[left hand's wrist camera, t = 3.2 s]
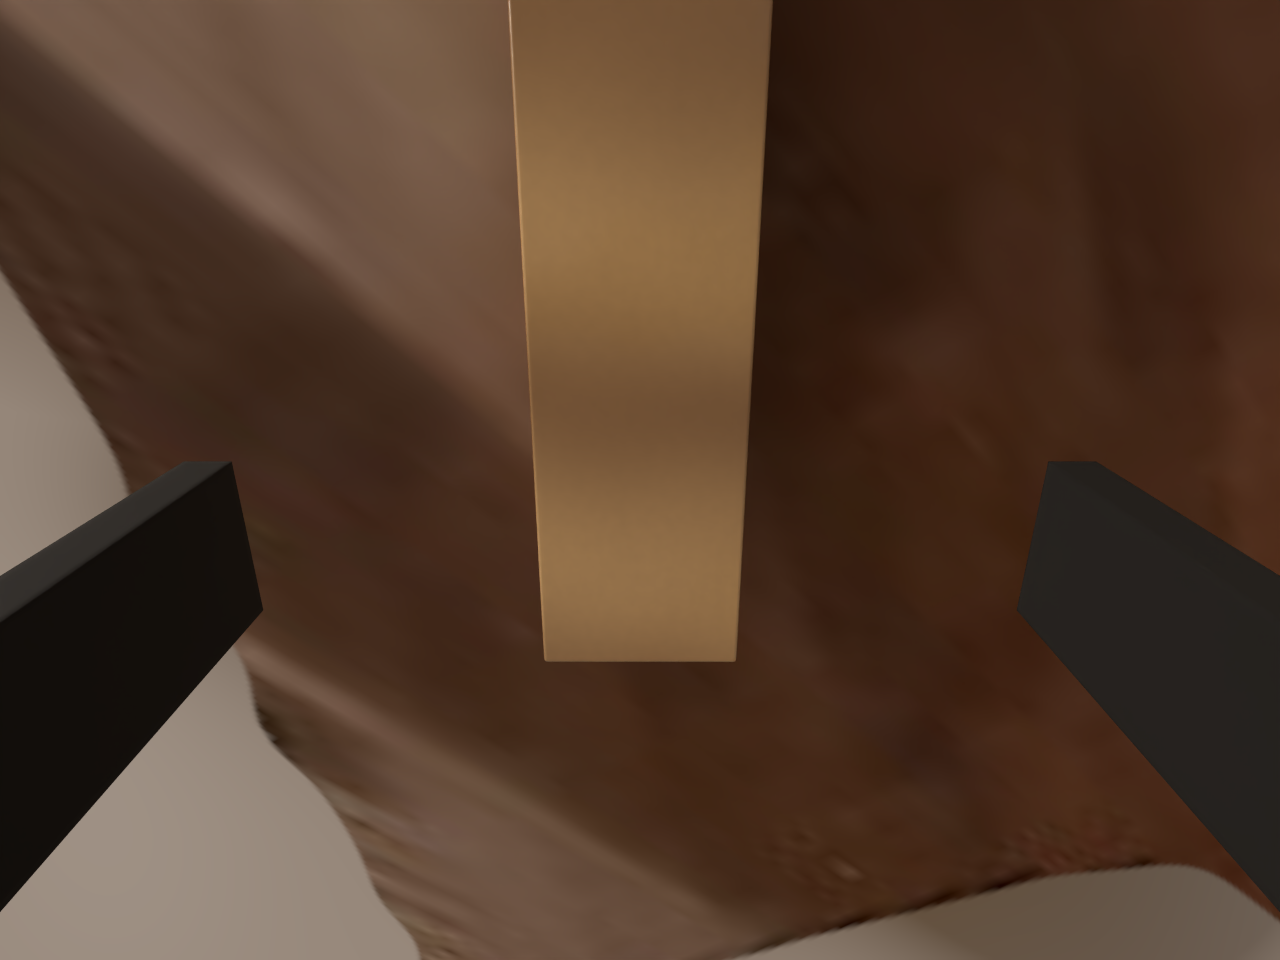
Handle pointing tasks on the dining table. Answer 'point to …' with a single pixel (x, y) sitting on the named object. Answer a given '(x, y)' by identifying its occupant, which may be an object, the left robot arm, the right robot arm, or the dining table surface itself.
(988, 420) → the dining table surface
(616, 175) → the post
